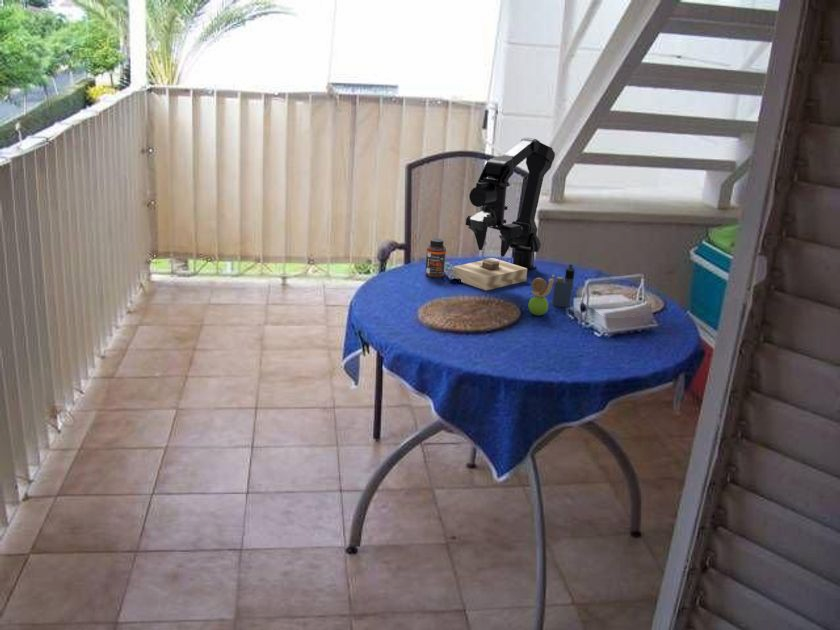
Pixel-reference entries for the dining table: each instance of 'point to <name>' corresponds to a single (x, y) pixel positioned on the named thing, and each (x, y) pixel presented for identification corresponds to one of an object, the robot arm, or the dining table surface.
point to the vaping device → (563, 288)
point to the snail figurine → (540, 296)
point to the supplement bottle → (435, 258)
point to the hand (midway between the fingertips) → (491, 253)
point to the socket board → (490, 275)
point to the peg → (490, 264)
